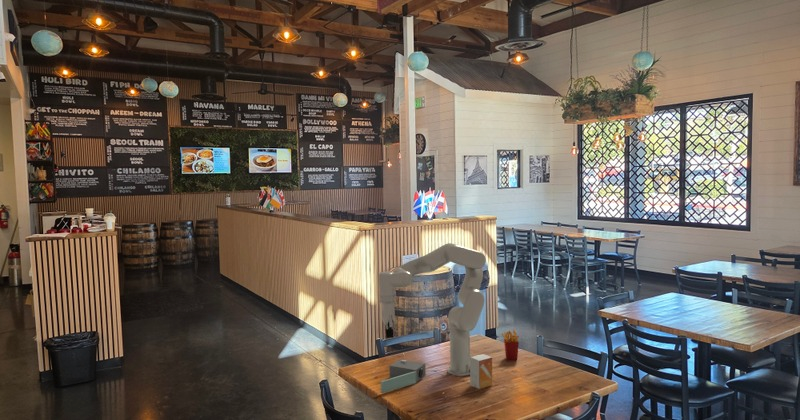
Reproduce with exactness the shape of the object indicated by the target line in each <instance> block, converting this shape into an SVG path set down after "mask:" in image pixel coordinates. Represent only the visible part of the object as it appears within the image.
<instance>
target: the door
mask: <svg viewBox="0 0 800 420" xmlns="http://www.w3.org/2000/svg"><path fill="white" fill-rule="evenodd" d="M414 384H417V383H416V371H414V372H411V373H407V374H404V375H401V376H397V377H394V378H387V379H384V380H380V393H381V394H385V393H386V394H387V393H388V392H392V391H394V390H398V389H401V388H404V387H407V386H410V385H414Z"/></svg>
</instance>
